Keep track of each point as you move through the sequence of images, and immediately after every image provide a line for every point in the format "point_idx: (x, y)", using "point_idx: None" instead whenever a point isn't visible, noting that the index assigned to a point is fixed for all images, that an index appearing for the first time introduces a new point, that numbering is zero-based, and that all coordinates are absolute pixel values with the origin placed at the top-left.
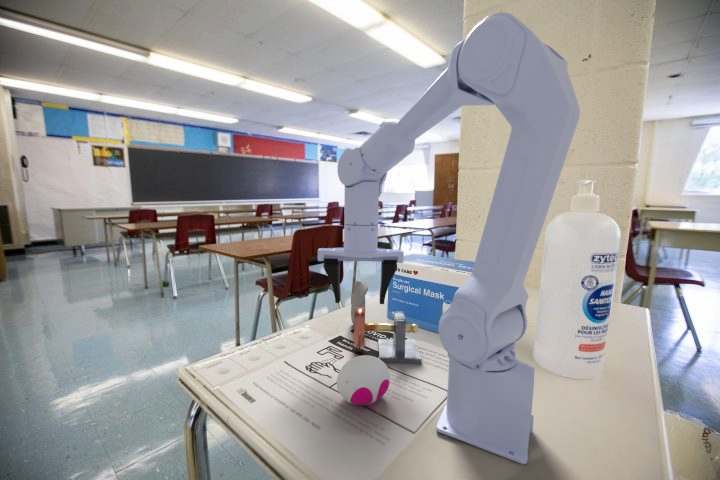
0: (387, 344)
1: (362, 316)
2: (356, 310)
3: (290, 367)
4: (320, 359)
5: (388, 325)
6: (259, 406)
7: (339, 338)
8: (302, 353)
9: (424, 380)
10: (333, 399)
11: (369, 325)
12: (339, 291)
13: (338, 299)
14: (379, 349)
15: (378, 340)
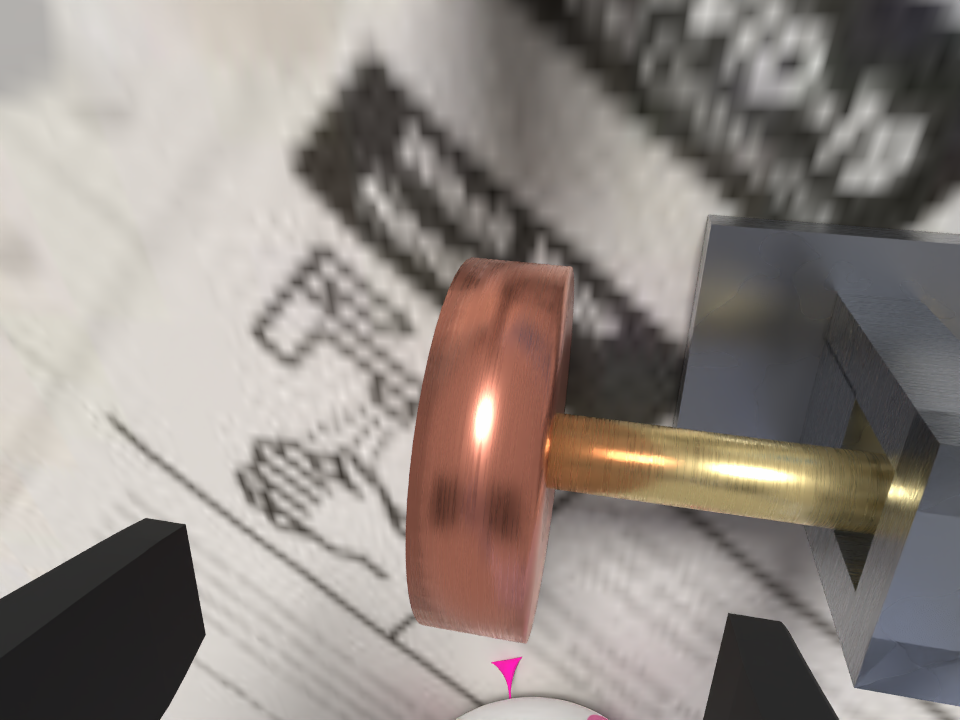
0: (771, 327)
1: (498, 637)
2: (427, 592)
3: (164, 477)
4: (295, 418)
5: (786, 517)
6: None
7: (370, 117)
8: (170, 342)
9: None
10: (416, 703)
11: (591, 492)
12: (111, 701)
13: (171, 680)
14: (684, 398)
15: (706, 249)
